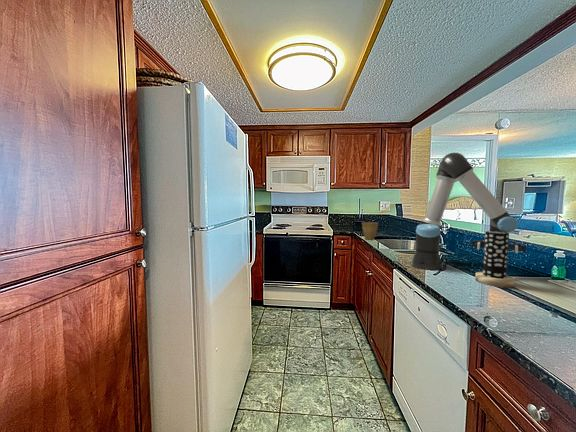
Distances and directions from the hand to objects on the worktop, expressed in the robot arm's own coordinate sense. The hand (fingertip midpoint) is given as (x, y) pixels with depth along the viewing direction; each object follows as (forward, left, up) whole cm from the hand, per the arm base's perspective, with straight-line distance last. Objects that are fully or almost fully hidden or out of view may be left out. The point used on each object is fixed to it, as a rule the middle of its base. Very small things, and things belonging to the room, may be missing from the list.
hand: (496, 248), depth 116 cm
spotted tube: (0, 0, -13) cm, 13 cm away
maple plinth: (0, 0, -16) cm, 16 cm away
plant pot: (-124, -22, -16) cm, 127 cm away
